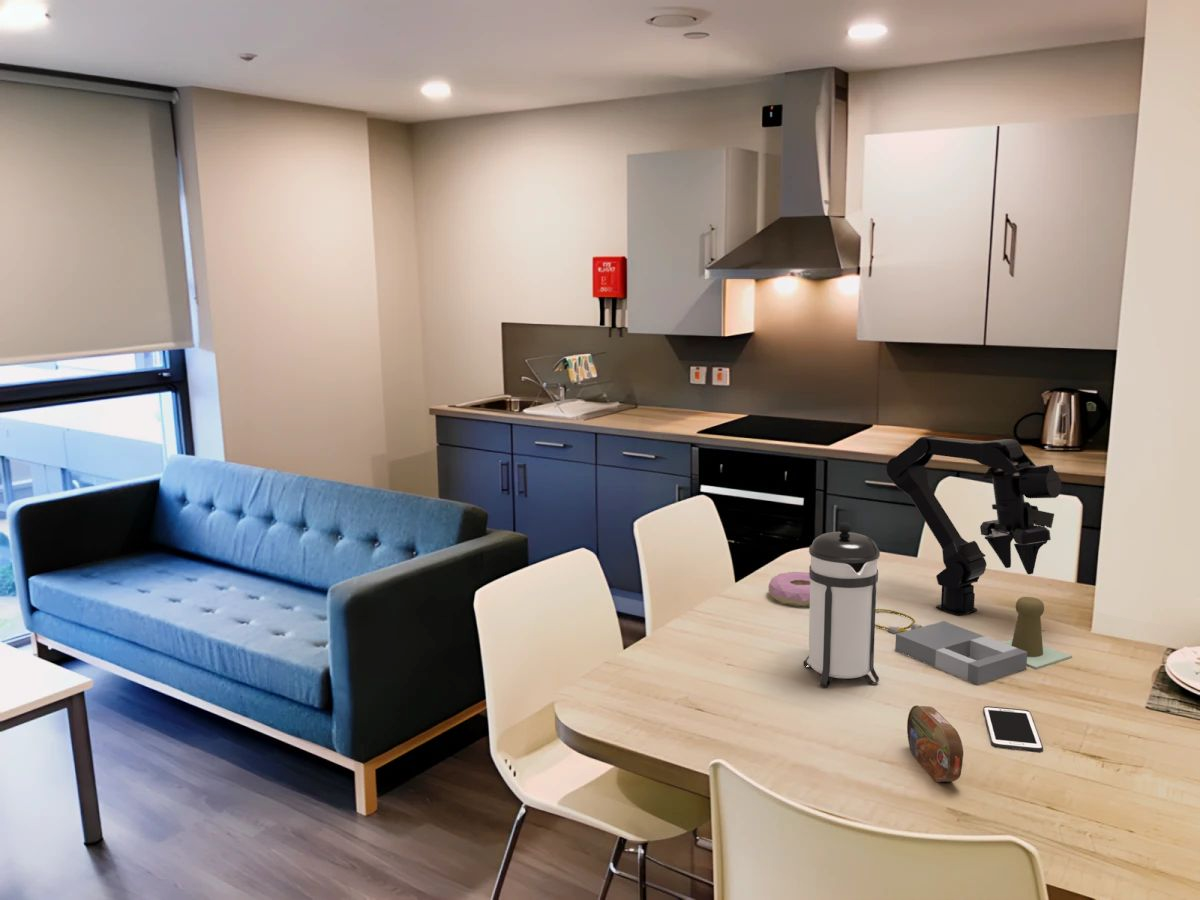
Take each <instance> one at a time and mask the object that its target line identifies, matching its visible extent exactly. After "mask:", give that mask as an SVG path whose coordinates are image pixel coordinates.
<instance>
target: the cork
mask: <svg viewBox="0 0 1200 900" xmlns="http://www.w3.org/2000/svg"><path fill="white" fill-rule="evenodd" d="M1044 604H1045V603H1044V602H1043V601H1042V600H1041V599H1039V598H1037V597H1033V596H1022V597H1020V598H1018V599H1017V601H1016V602H1015V610H1016V612H1017V619H1016V622H1015V627H1014V632H1013V636H1012V639H1013V640H1012V645H1011V646H1013V647H1016V648H1018V649H1021V650H1024V651H1027V657H1039V656H1042V655H1043V644H1044V643H1043V633H1042V620H1041V619H1042V618H1041V616H1042V615H1043V614H1044V612H1045V605H1044Z"/></svg>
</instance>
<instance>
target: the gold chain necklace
mask: <svg viewBox="0 0 1200 900" xmlns="http://www.w3.org/2000/svg"><path fill="white" fill-rule="evenodd" d="M875 612H877V613H879V612H890V613H889V614H892V613H895V614H894V615H897V614H900V615H899V616H901V615H903V616H905V617H904V618H906V617H908V618H910V619H912V620H913V621H912V620H911V621H912V622H911V623H910V624H909V625H908V626H905V627H899V626H890V625H889V626H888V627H886V626H883V625H880V624H876V623H875V627H879V628H878V629H880V628H885V629H884V630H887V632H888V631H889V633H891V634H893V633H894V634H893V635H895V634H898V633H901V632H905V631H909V630H908V629H909V628H911V630H913V629H916V628H920V627H923V626H922V625H921V624H916V620H915V618H913V617H912V616H910V615H908V614H906V613H903V612H900V611H895V610H891V609H883V608H875ZM903 616H902V617H903ZM908 627H909V628H908ZM903 628H907V629H903Z"/></svg>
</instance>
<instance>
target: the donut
mask: <svg viewBox="0 0 1200 900" xmlns="http://www.w3.org/2000/svg"><path fill="white" fill-rule="evenodd" d="M768 592H769V595H770V597H771V598H773V599H775V600H776V601H778V602H779V603H781V604H782V603H783V605H786V604H789V605H788V606H793V605H796V606H795V607H800V606H806V607H810V577H809V572H806V571H791V572H790V571H789V572H784V573H783V572H782V573H779V574H776V575H775V576H773V577H772V578H771V580H770V581H769V583H768Z"/></svg>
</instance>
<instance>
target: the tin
mask: <svg viewBox="0 0 1200 900" xmlns="http://www.w3.org/2000/svg"><path fill="white" fill-rule="evenodd" d="M906 721H907V723H906V728H907V729H906V733H907V740H908V741H907V742H908V746H909V749H910V751H911V753H912V755H913V758H915V759H916V760H917V762H918V763H919V764H920V765H921V766H922V767H923V768H924V769H925V771H926V772H927V774H929V776H930V777H931V778H932V779H933V780H934V781H936V782H937V783H942V782H947V783H948V782H956V781H957V780H959V779H960V777H961V775H962V769H963V759H964V747H963V746H964V745H963V742H962V738H961V736H960V734H959V733H958V731H957V729H956V728H955V727H954V726H953V725H952V724H951V723H950V722H949V721H948V720H947V719H946V718H945V717H944V716H943V715H942V714H941V713H940V712H938V711H937V709H936V708H934V707H933V706H923V705H913V706H912V707H911V708H910V710H909V712H908V716H907V720H906Z"/></svg>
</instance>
